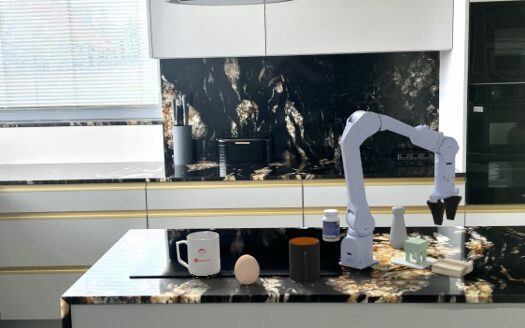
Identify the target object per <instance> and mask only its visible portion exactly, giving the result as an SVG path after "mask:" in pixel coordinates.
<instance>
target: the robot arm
mask: <svg viewBox="0 0 525 328" xmlns="http://www.w3.org/2000/svg"><path fill="white" fill-rule="evenodd" d="M386 130H388V131H391V132H394V133H396V134H399V135H401V136H405V137H407V138H409V139H410V141H411V144H412V145H415V146H418V147H420V148H422V149H425V150H428V151H430V152H432V153H434V190H433V192H432V193H431V194H429V196H428V197H429V200H426V205H427V207H428V208H429V210H430V213H431V215H432V221H433V224H434V225H435V226H443V223H444V215H445V219H446V220H448V221H455V219H456V216H457V215H456V214H457V211H458V208H459V205H460V203H461V201H462V200H463V196H462V195H460V188H459V187H456V155H457V154H458V153H459V150H460V145H459V144H458V141H457V139H455V138H454V137H453V136H448V135H444V132H443V131H436V130H435V129H434V130H433V129H431V128H430V126H429V125H427V124H423V125H417V126H415V127H413V126H412V125H409V124H407V123H405V122H402V121H400V120H398V119H396V118H393V117H391V116H390V115H389V116H388V115H385V114H382V113H381V114H380V113H376V112H373V111H365V110H361V109H360V110H356V111H355V112H353V113H352V114H351V115H350V116H349V117H348V118H347V120H346V125H345V127H344V130H343V133H342V135H341V137H340V140H339V141H340V142H339V143H340V150H341V151H340V152H341V157H342V163H343V165H342V166H343V171H344V179H345V186H346V192H347V193H346V194H347V204H346V208H347V209H346V214H345V222H346V224H347V226H349V227H348V229H347V234H346V236H345V237H344V238H343V239H342V240H341V242H340V261H339V262H338V264H339V265H340V266H345V267H348V268H349V267H350V268H353V269H358V270H363V269H366V268H368V267H370V266H372V265H374V264H376V263H379V262H380V259H376V258H374V239H373V238H374V237H373V235H374V232H373V231H375V227H376V220H375V218H374V216H373V215H372V212H371V207H370V206H369V204H368V200H367V196H366V188H365V180H364V173H363V167H362V166H363V165H362V158H361V152H360V146H361V145H362V144H363V143H364V141H365V140H366V139H368V138H369V137H371V136H372V135H374V134H375V133H377V132H379V131H381V132H383V131H386ZM442 200H443V201H442Z"/></svg>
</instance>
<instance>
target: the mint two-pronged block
mask: <svg viewBox="0 0 525 328" xmlns="http://www.w3.org/2000/svg"><path fill="white" fill-rule="evenodd" d="M428 249H429V240H428V239H424V238H423V239H422V238H417V237H410V238H408V240H406V241H404V248H403V250H404V251H405V255H406V262H409V261H410V254H412V259H416V264H421V256H422V261H426V259H427V255H428V253H427V250H428Z"/></svg>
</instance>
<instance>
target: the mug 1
mask: <svg viewBox="0 0 525 328" xmlns="http://www.w3.org/2000/svg"><path fill="white" fill-rule="evenodd" d="M181 244H186V245H187V262H188V264H187V263H186V262H185V261H183V260H182V259H181V257H180V249H179V247H180V246H179V245H181ZM175 245H176V254H177V261H178V263H180V264H181V265H182V266H183V267H186V268H187V269H188V272H189V273H190V275H192V274H193V275H196V276H208V275H213V274H216V273H217V274H219V272H220V270H221V257H220V256H221V255H220V235H219V233H217V232H214V231H196V232H192V233H189V234H188V235H186V240H179V241H176V242H175ZM217 274H216V275H217ZM193 275H192V276H193Z"/></svg>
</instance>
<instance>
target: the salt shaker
mask: <svg viewBox="0 0 525 328" xmlns="http://www.w3.org/2000/svg"><path fill="white" fill-rule="evenodd" d="M391 214H392V221H391V226H390V233H389V238H388V239H389V243H390V245H391V246H390V247H392V248H394V249H404V241H406V240H408V239H409V238H408V234H407V233H408V232H407V228H406V221H405V217H404V215H405V214H406V208H405V207H404V206H403V205H394V206H392V207H391Z"/></svg>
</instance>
